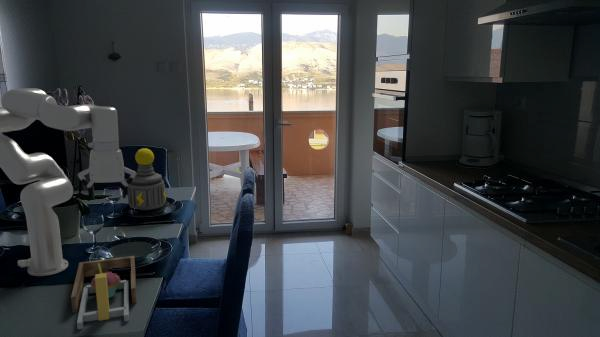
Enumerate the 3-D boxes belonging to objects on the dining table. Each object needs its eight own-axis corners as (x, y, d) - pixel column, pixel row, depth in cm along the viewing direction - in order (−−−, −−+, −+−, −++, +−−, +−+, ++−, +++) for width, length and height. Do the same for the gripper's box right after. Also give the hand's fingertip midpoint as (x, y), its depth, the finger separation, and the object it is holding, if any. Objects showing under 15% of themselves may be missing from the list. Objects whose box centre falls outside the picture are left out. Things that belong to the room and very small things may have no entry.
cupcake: (103, 304, 138) (100, 267, 135) (86, 297, 142) (82, 261, 139) (127, 292, 145) (124, 257, 142) (109, 286, 149) (106, 252, 146)
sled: (77, 329, 124) (73, 285, 122) (84, 291, 145) (80, 253, 142) (128, 321, 129) (125, 278, 126) (128, 285, 149) (125, 248, 147)
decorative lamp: (160, 211, 226) (156, 152, 219) (122, 210, 226) (117, 151, 220) (171, 200, 244) (168, 145, 238) (136, 199, 245) (132, 144, 238)
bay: (72, 312, 133) (70, 297, 132) (80, 276, 156) (79, 262, 155) (136, 302, 139) (135, 287, 138) (135, 269, 162) (134, 255, 161)
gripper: (74, 148, 138) (77, 202, 141) (134, 148, 143) (136, 200, 147) (77, 144, 145) (81, 195, 148) (135, 143, 150) (137, 193, 154)
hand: (108, 197), depth 148 cm, fingers open, 9 cm apart
